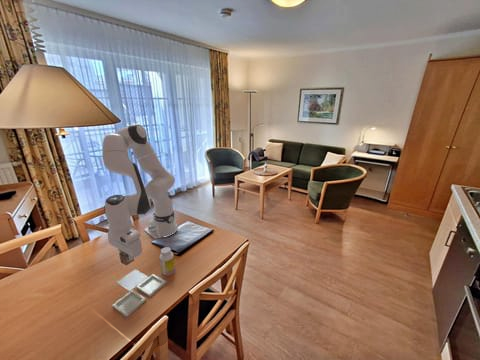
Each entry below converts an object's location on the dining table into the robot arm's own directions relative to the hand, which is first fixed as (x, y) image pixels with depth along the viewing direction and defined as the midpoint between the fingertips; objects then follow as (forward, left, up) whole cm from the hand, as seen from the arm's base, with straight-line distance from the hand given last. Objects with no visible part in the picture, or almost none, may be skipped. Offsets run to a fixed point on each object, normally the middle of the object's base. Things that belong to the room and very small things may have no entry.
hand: (127, 257), depth 98 cm
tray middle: (+11, +2, -13) cm, 18 cm away
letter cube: (0, 0, -2) cm, 2 cm away
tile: (0, 0, -13) cm, 13 cm away
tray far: (+11, -9, -13) cm, 20 cm away
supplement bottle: (+10, +13, -14) cm, 22 cm away
